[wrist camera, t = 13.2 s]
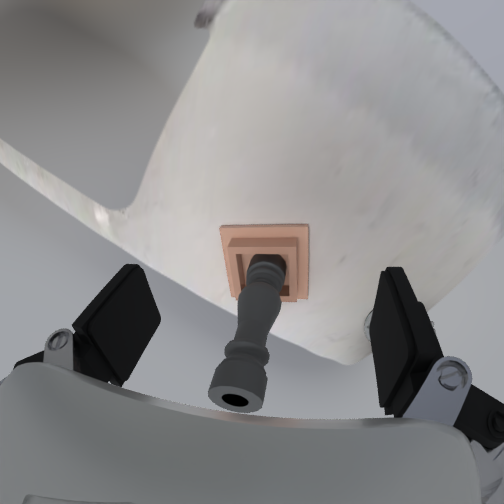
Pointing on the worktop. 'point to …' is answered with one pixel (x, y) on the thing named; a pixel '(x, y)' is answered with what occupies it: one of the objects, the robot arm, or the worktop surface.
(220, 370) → the candle holder
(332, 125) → the worktop surface
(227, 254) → the square tray
